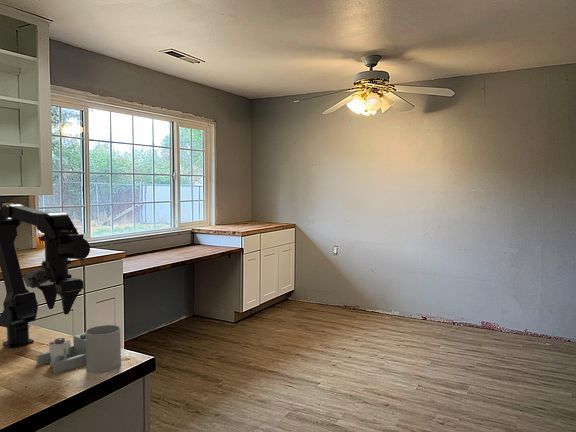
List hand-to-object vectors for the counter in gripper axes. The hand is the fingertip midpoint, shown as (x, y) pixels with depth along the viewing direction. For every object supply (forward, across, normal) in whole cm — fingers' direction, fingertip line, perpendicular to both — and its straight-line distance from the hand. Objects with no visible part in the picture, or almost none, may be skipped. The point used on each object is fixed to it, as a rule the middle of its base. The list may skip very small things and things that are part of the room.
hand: (58, 311), depth 129 cm
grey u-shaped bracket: (+12, +9, -1) cm, 15 cm away
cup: (+12, +20, +2) cm, 24 cm away
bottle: (+12, +9, -4) cm, 15 cm away
